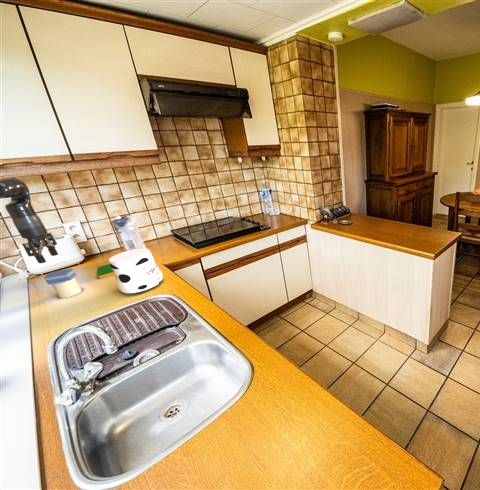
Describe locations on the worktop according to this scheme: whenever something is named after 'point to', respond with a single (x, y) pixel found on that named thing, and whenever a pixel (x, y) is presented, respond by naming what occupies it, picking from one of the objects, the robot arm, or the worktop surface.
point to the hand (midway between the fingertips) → (49, 258)
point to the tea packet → (60, 276)
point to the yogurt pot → (66, 288)
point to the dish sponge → (104, 271)
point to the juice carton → (128, 232)
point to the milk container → (135, 271)
